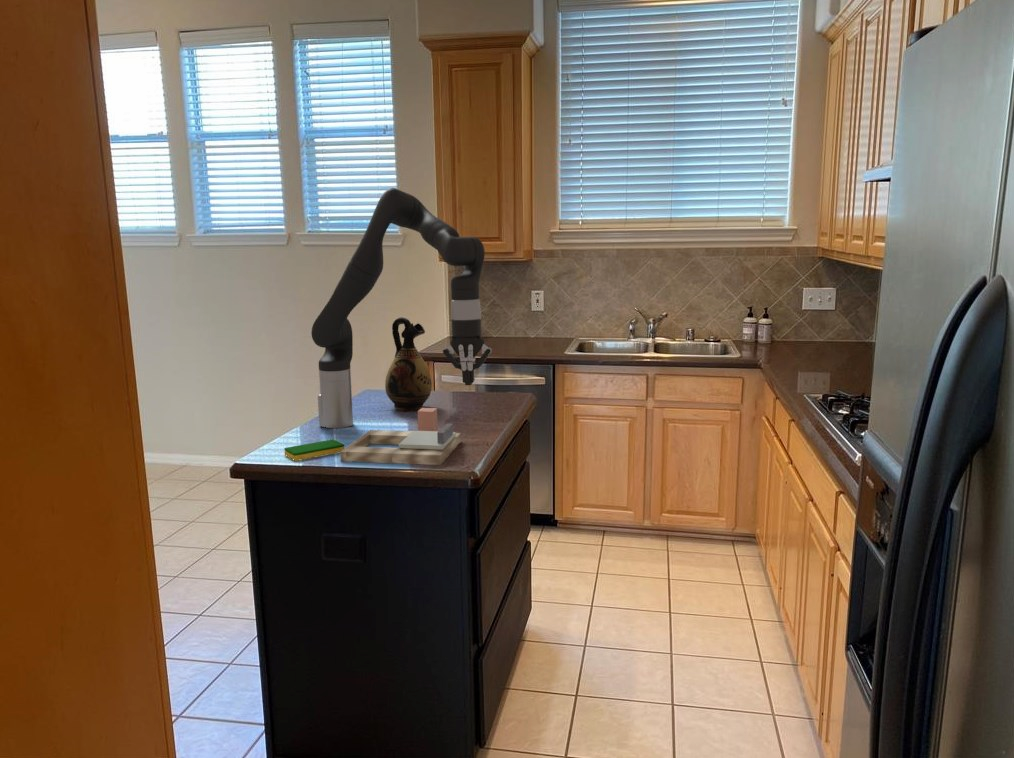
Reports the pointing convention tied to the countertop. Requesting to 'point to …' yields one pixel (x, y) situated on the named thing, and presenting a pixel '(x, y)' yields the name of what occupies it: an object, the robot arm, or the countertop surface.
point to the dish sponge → (314, 449)
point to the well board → (394, 449)
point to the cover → (429, 439)
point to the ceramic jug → (407, 370)
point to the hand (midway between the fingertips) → (468, 384)
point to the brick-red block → (427, 419)
